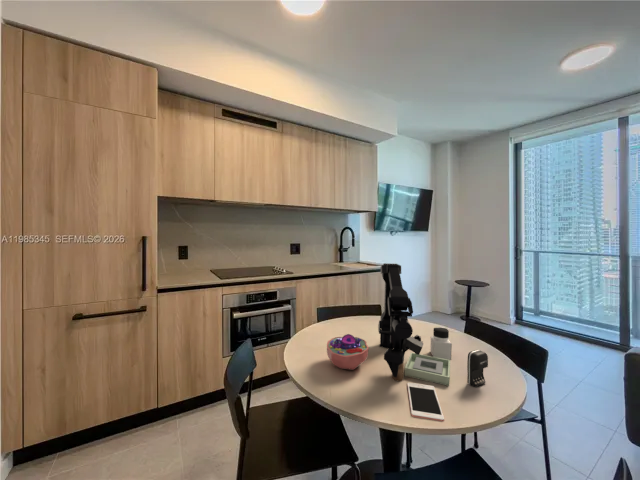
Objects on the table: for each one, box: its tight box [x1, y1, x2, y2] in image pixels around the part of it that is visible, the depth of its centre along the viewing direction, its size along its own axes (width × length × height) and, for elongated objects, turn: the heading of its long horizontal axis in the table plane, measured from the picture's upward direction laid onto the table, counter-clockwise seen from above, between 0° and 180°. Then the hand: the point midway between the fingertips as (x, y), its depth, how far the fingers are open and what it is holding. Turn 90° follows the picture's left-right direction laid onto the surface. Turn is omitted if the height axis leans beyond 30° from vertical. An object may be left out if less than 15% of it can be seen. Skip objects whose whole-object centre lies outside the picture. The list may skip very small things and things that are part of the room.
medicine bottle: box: [429, 326, 453, 361], centre depth 120 cm, size 7×7×12 cm
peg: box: [391, 360, 405, 382], centre depth 101 cm, size 4×4×8 cm
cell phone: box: [406, 382, 445, 422], centre depth 88 cm, size 9×18×1 cm, turn 167°
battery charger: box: [466, 349, 489, 387], centre depth 97 cm, size 7×4×11 cm, turn 117°
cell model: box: [326, 333, 370, 370], centre depth 111 cm, size 17×20×11 cm
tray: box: [404, 352, 451, 387], centre depth 106 cm, size 15×15×3 cm
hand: (397, 371), depth 101 cm, fingers open, 9 cm apart
